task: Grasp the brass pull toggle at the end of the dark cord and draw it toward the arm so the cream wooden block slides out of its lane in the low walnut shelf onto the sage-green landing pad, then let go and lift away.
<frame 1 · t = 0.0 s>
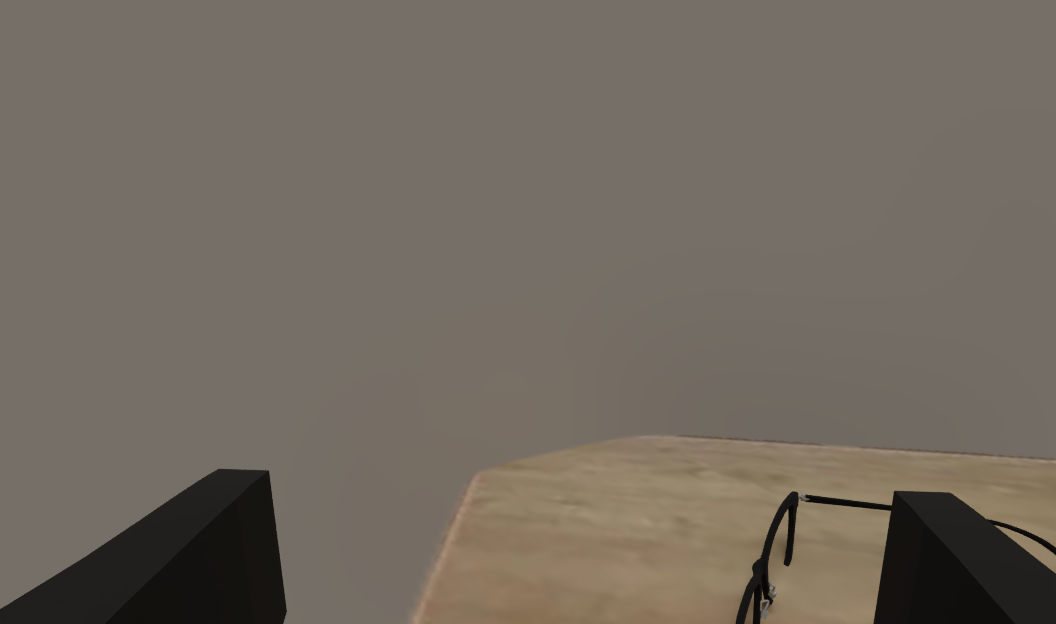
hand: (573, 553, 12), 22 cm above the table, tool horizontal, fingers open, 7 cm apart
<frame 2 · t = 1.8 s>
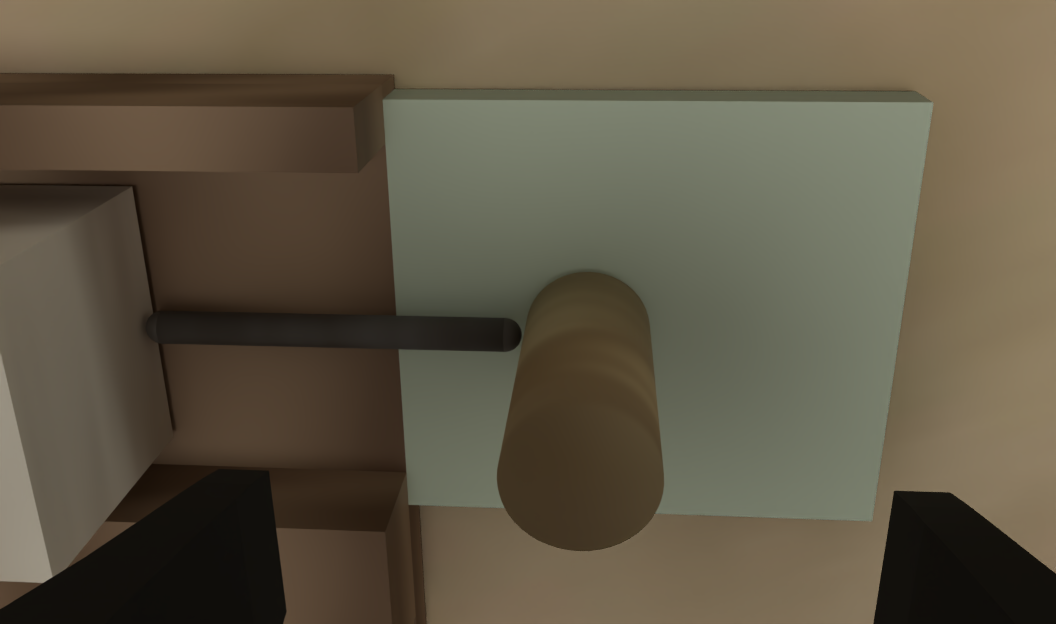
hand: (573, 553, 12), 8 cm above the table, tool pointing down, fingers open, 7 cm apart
lane shelf: (145, 508, 21), on the table
landing pad: (642, 303, 19), on the table
cream block: (180, 381, 16), point 4 cm above the table, slide at 0.0 cm
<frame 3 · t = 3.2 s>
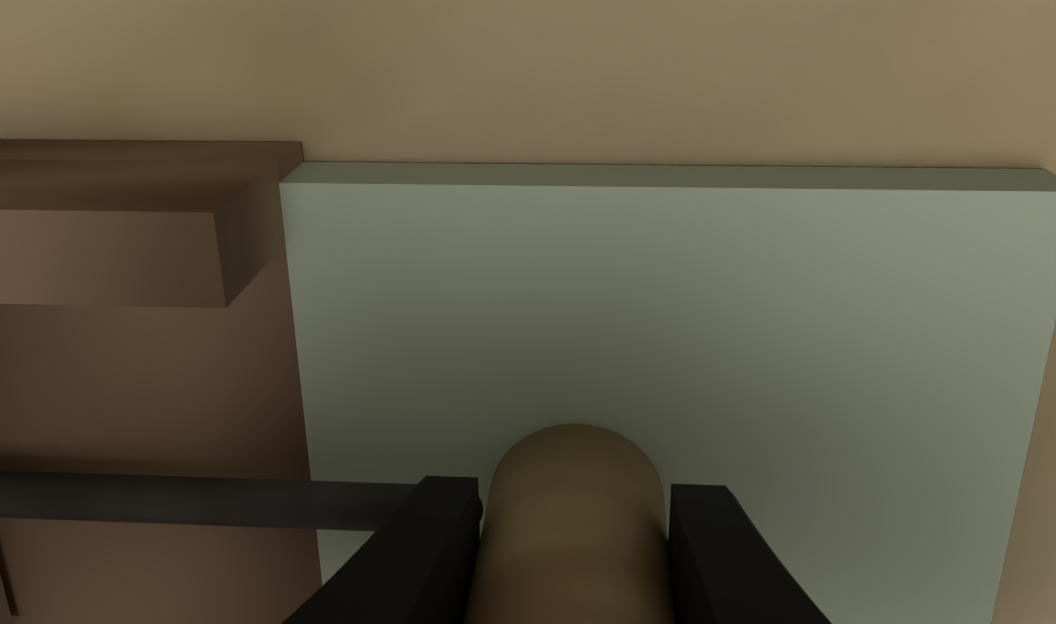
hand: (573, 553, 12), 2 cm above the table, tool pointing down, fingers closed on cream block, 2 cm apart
landing pad: (651, 450, 14), on the table
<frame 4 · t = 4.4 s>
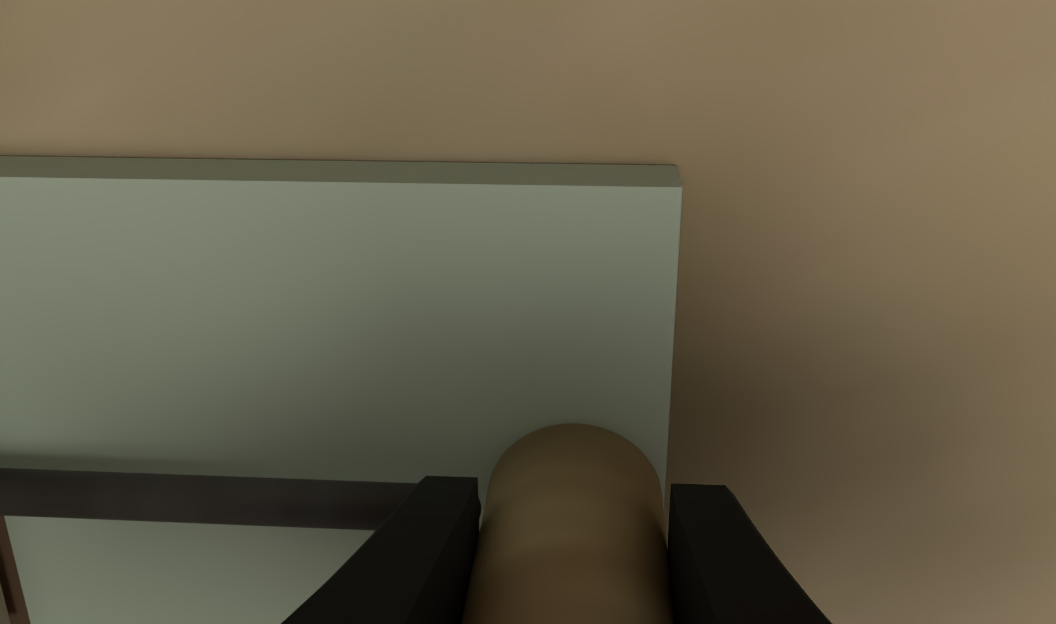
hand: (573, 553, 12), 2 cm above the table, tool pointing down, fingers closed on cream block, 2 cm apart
landing pad: (339, 439, 14), on the table
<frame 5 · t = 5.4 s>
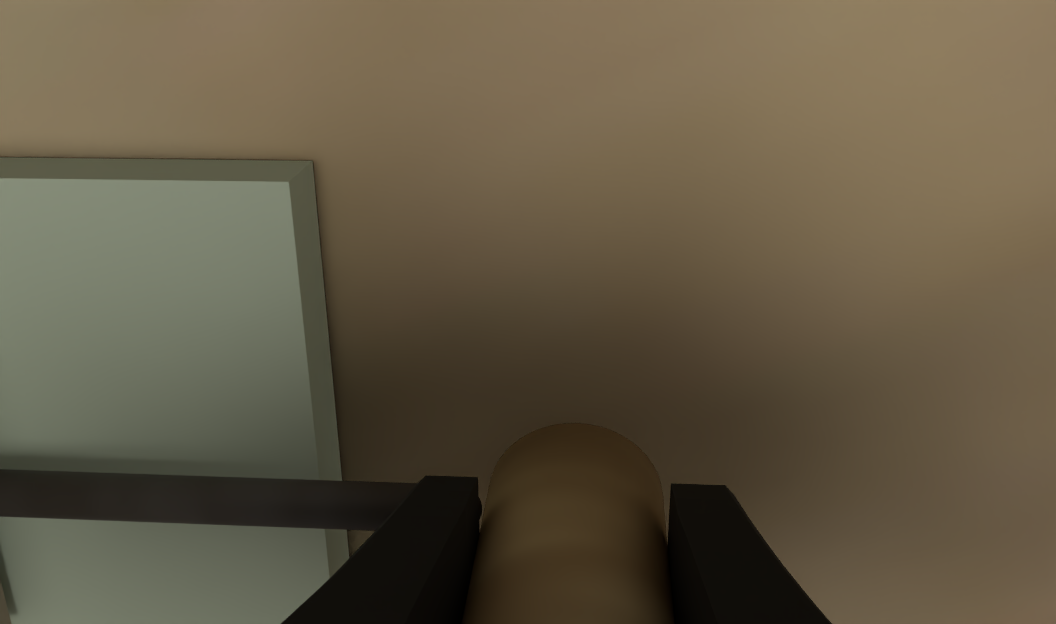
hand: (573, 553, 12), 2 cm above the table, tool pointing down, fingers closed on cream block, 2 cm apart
landing pad: (30, 430, 14), on the table
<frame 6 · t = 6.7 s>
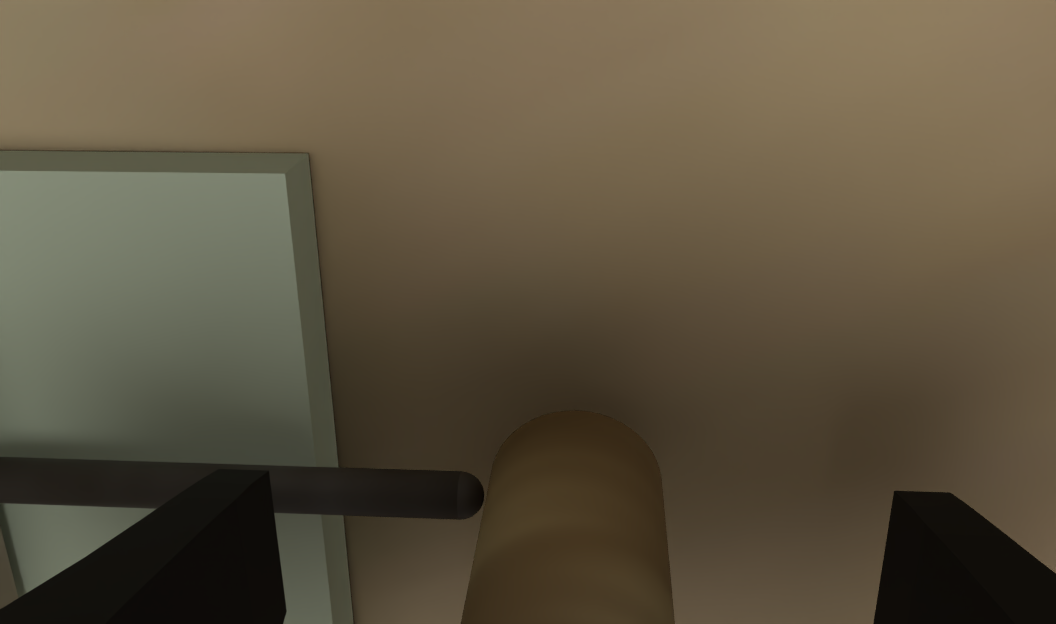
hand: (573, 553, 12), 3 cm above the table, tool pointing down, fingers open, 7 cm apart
landing pad: (32, 419, 15), on the table
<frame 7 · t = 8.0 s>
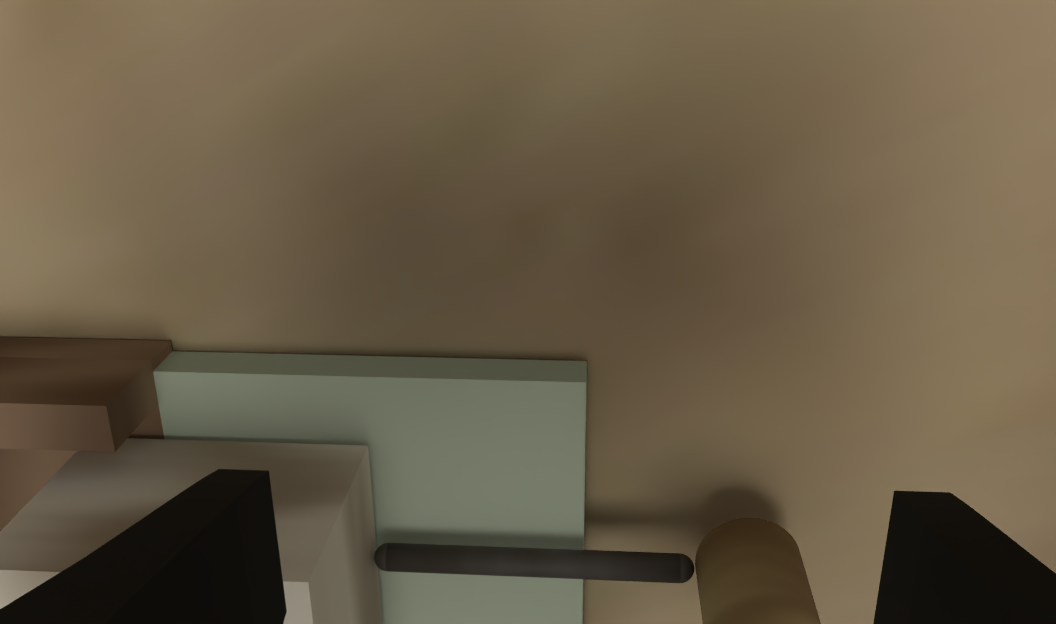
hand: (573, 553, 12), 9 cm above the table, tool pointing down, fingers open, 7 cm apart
landing pad: (388, 513, 23), on the table
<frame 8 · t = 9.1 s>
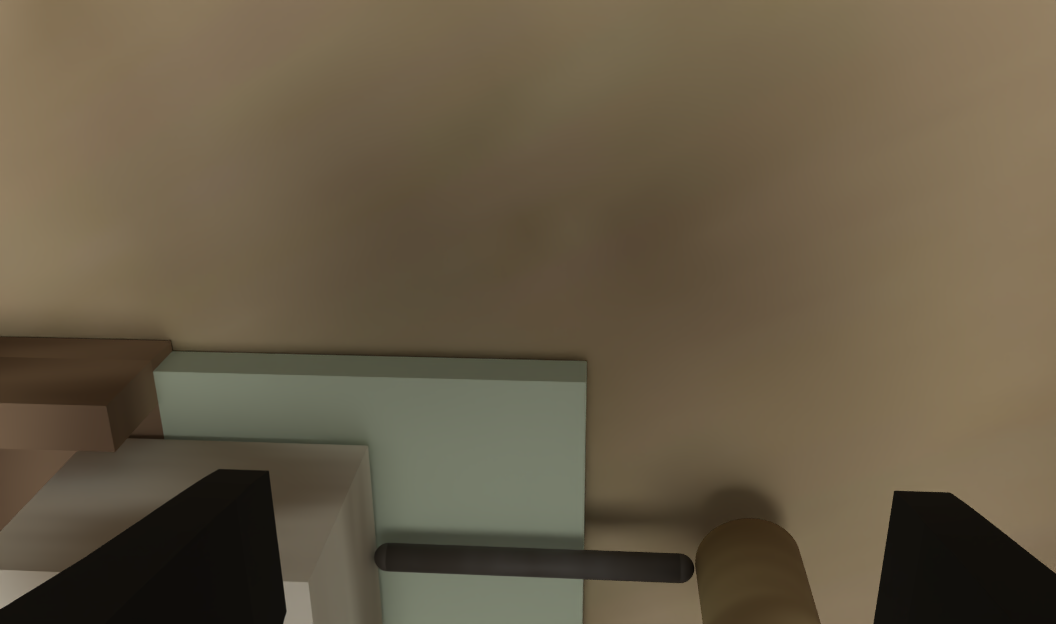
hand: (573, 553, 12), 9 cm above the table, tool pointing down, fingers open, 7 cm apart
landing pad: (388, 513, 23), on the table
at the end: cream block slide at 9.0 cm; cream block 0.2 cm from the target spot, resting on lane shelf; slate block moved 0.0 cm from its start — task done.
